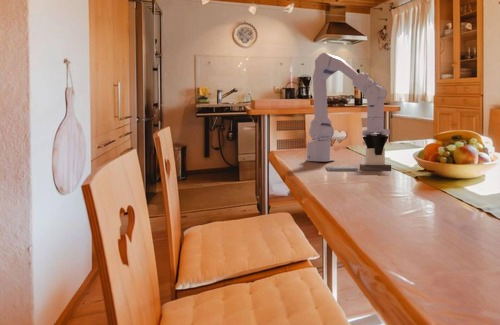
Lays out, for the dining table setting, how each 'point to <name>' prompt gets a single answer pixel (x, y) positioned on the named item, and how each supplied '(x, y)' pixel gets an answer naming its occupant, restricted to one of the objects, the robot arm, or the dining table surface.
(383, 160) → the tan rectangular post
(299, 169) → the dining table surface
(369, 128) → the robot arm
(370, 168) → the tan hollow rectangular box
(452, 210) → the dining table surface
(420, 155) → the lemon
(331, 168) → the tile
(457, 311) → the dining table surface
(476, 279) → the dining table surface
